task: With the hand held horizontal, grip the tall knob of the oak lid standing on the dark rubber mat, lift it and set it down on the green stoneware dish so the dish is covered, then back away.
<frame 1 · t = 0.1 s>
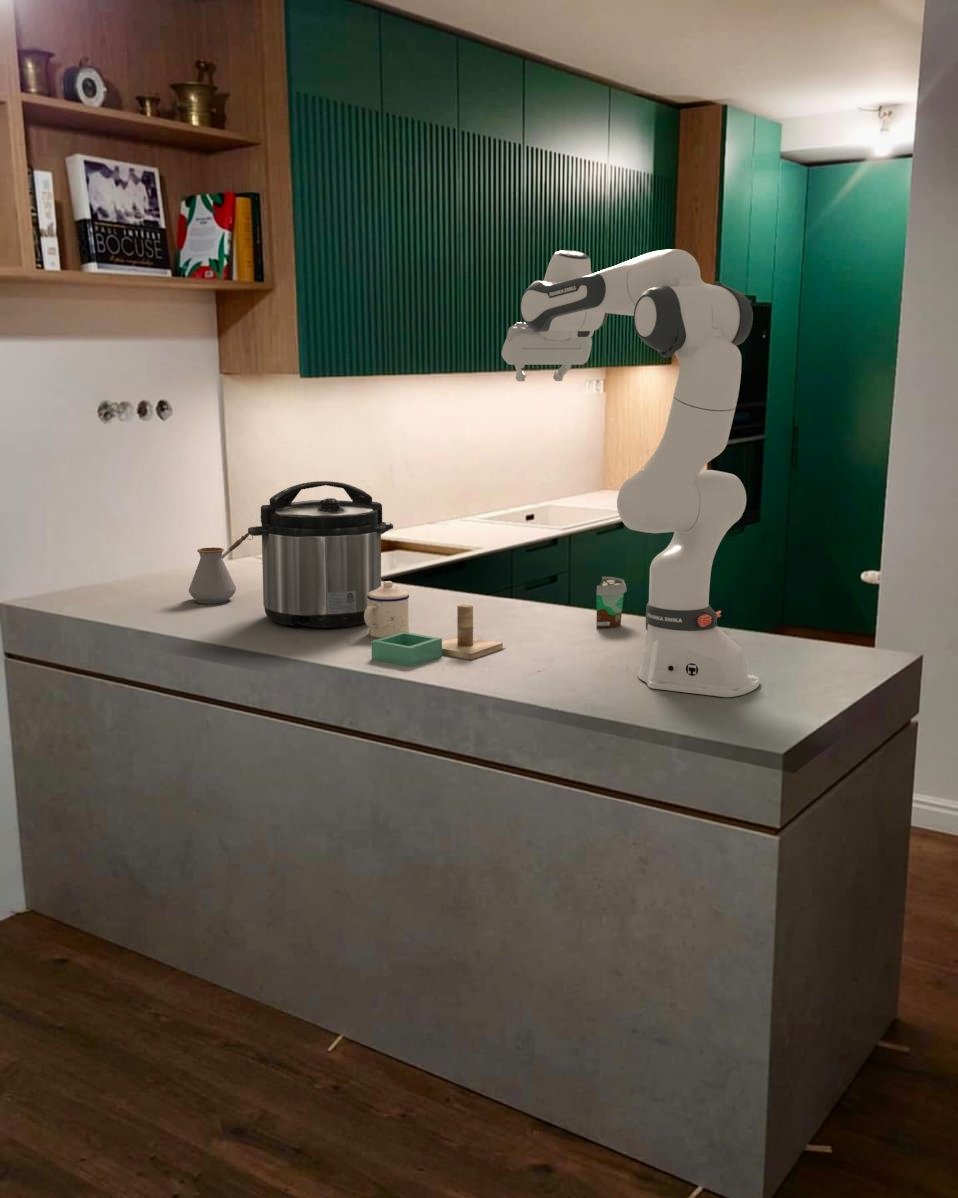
hand: (538, 380, 263), 54 cm above the countertop, tool tilted 30°, fingers open, 8 cm apart
dish: (407, 659, 238), on the countertop
teacup with lid: (384, 636, 258), on the countertop
lid: (465, 650, 243), resting on mat
mat: (465, 652, 243), on the countertop
food container: (612, 625, 268), on the countertop
pressure cooker: (322, 618, 275), on the countertop
coffee pot: (225, 597, 298), on the countertop
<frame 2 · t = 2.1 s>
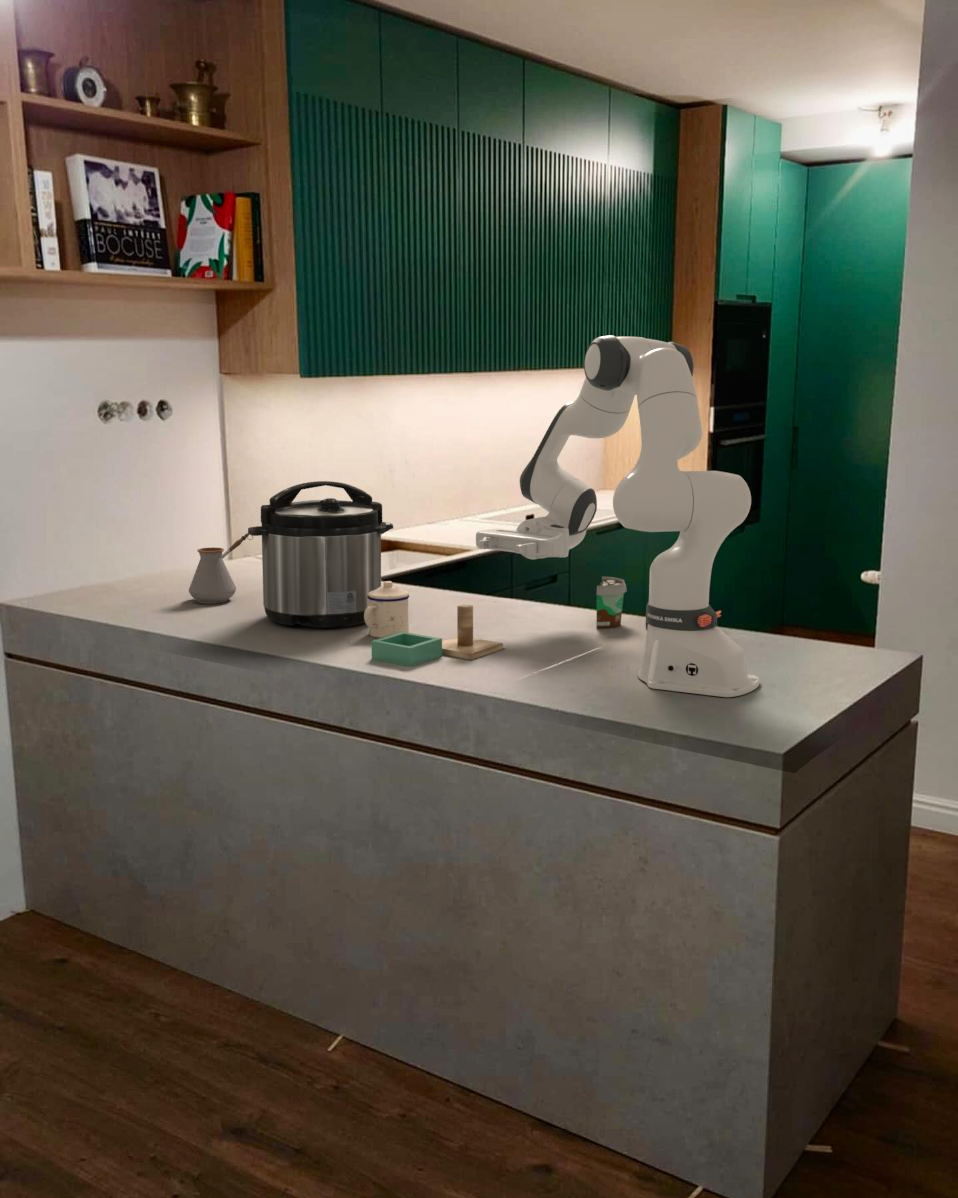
hand: (499, 547, 249), 20 cm above the countertop, tool horizontal, fingers open, 8 cm apart
nothing on the countertop moved.
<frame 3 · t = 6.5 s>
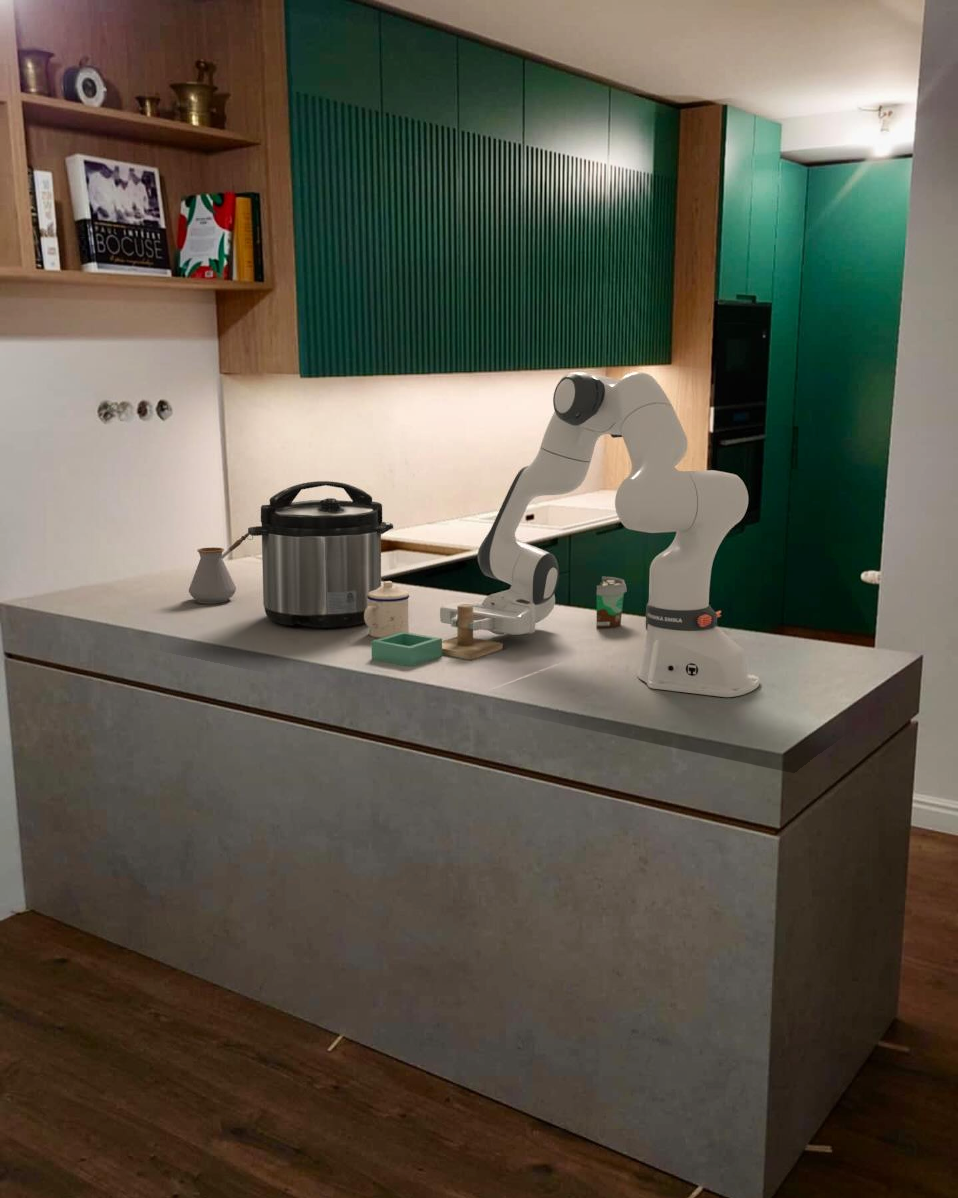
hand: (462, 624, 242), 6 cm above the countertop, tool horizontal, fingers closed on lid, 3 cm apart
lid: (465, 650, 243), resting on mat, touching gripper
everything else where it was.
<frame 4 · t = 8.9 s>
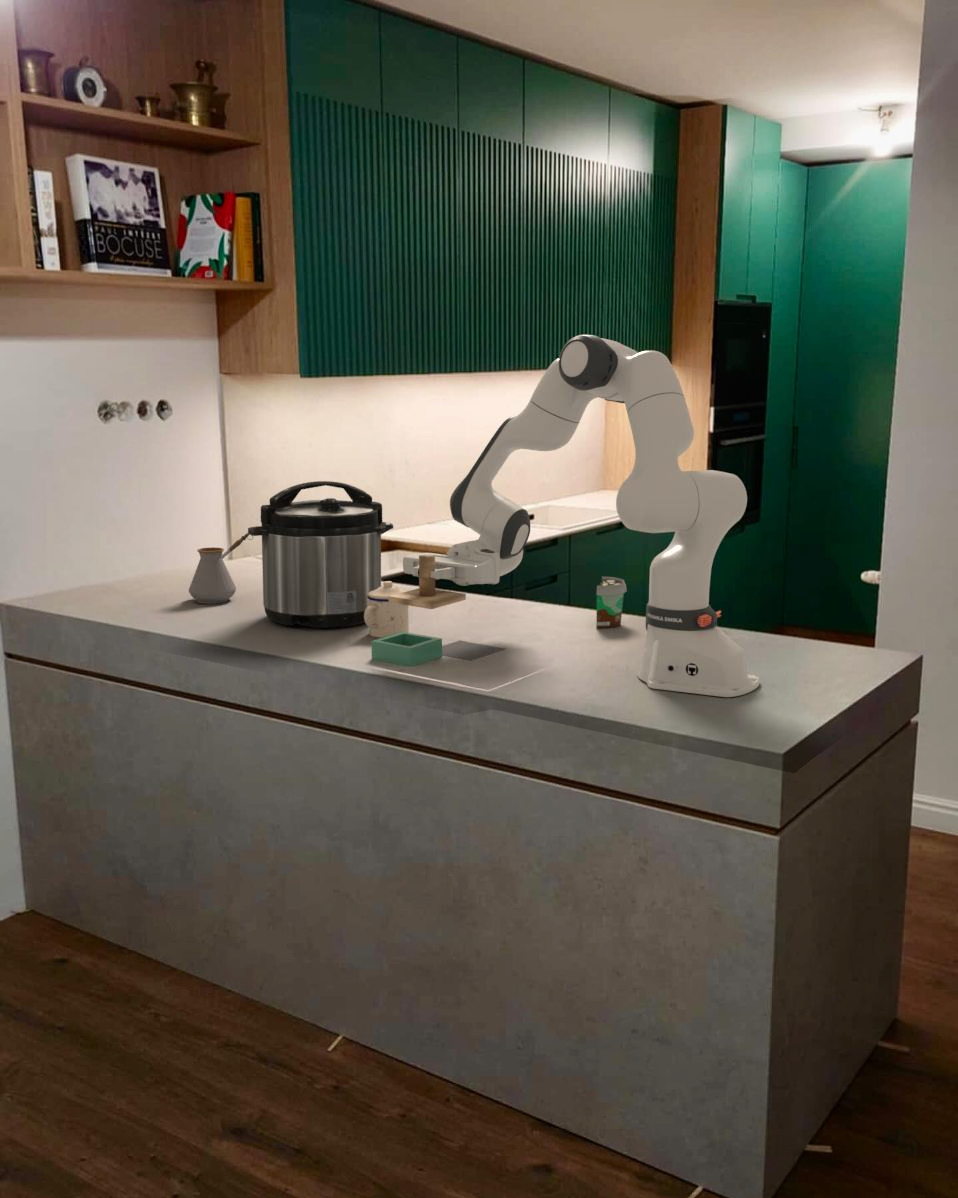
hand: (424, 573, 236), 17 cm above the countertop, tool horizontal, fingers closed on lid, 3 cm apart
lid: (427, 600, 238), point 11 cm above the countertop, touching gripper
everything else where it was.
when the fingers open (11 cm above the countertop, at t = 11.0 s): lid drops 1 cm, resting on dish.
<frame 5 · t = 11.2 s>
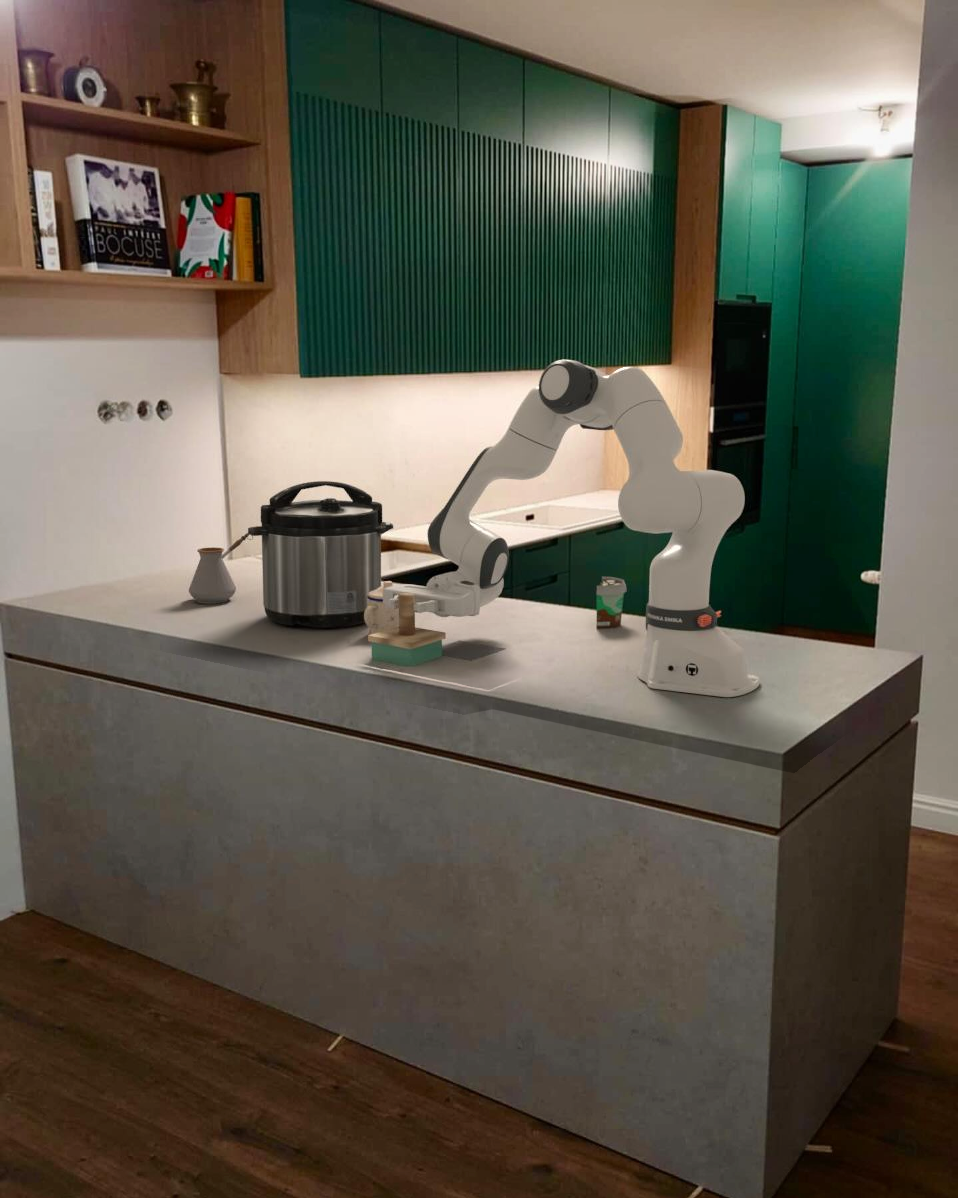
hand: (403, 606, 235), 11 cm above the countertop, tool horizontal, fingers open, 5 cm apart
lid: (407, 639, 237), point 4 cm above the countertop, touching dish
everything else where it was.
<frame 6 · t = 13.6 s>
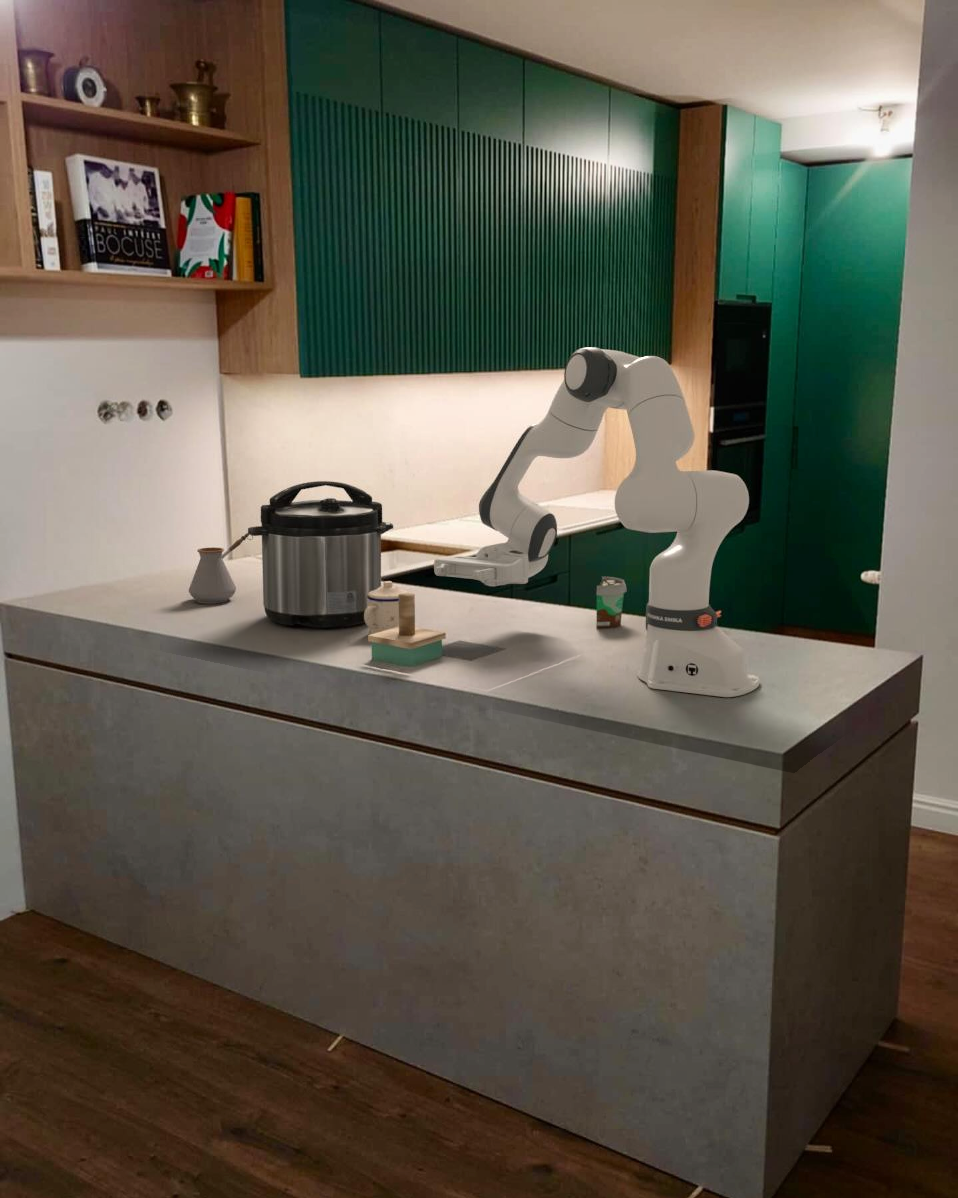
hand: (456, 573, 244), 16 cm above the countertop, tool horizontal, fingers open, 8 cm apart
nothing on the countertop moved.
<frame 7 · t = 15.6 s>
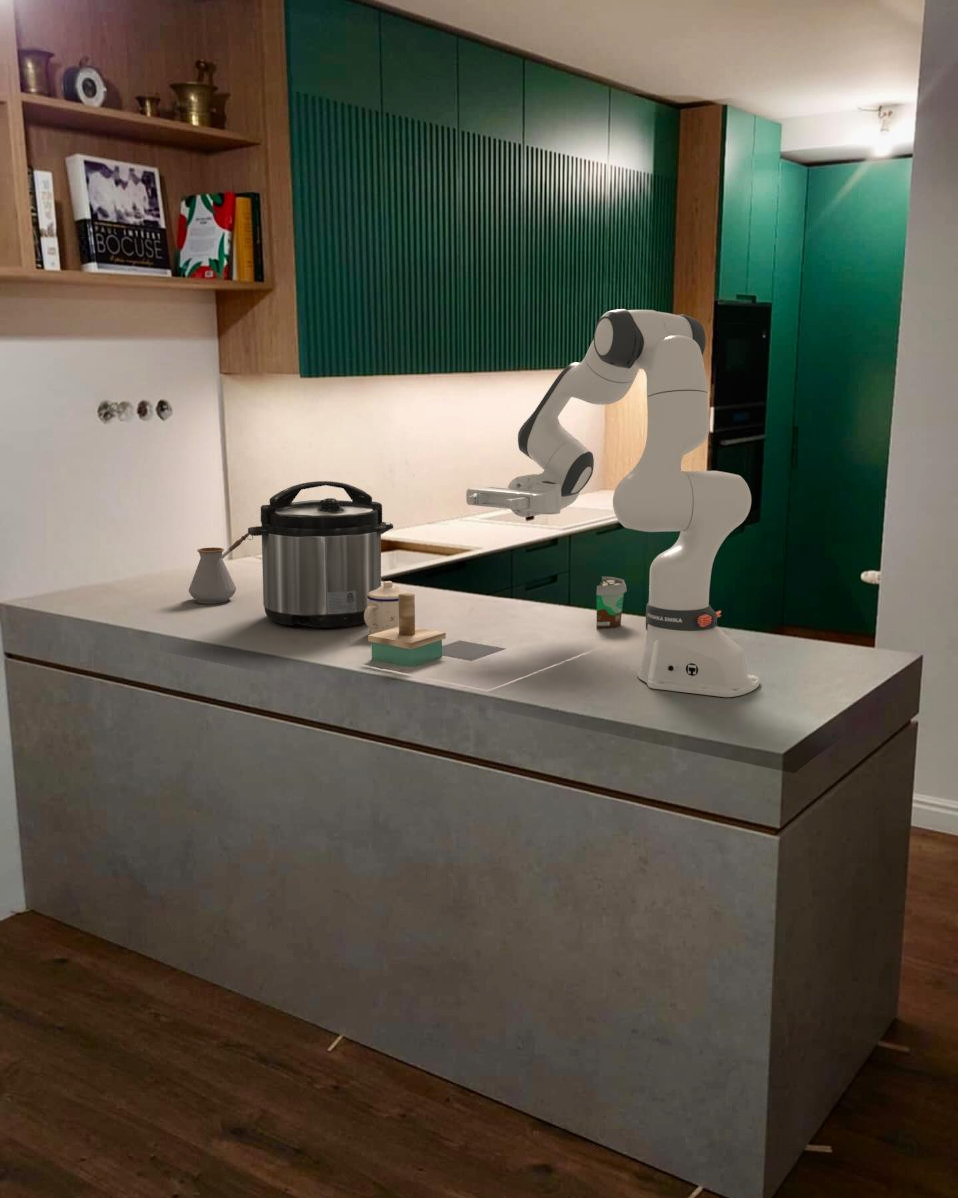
hand: (489, 502, 244), 30 cm above the countertop, tool horizontal, fingers open, 8 cm apart
nothing on the countertop moved.
at the end: lid 0.0 cm off-centre on the dish, point 4.0 cm above the dish's base; lid tilted 0°; the gripper is holding nothing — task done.
